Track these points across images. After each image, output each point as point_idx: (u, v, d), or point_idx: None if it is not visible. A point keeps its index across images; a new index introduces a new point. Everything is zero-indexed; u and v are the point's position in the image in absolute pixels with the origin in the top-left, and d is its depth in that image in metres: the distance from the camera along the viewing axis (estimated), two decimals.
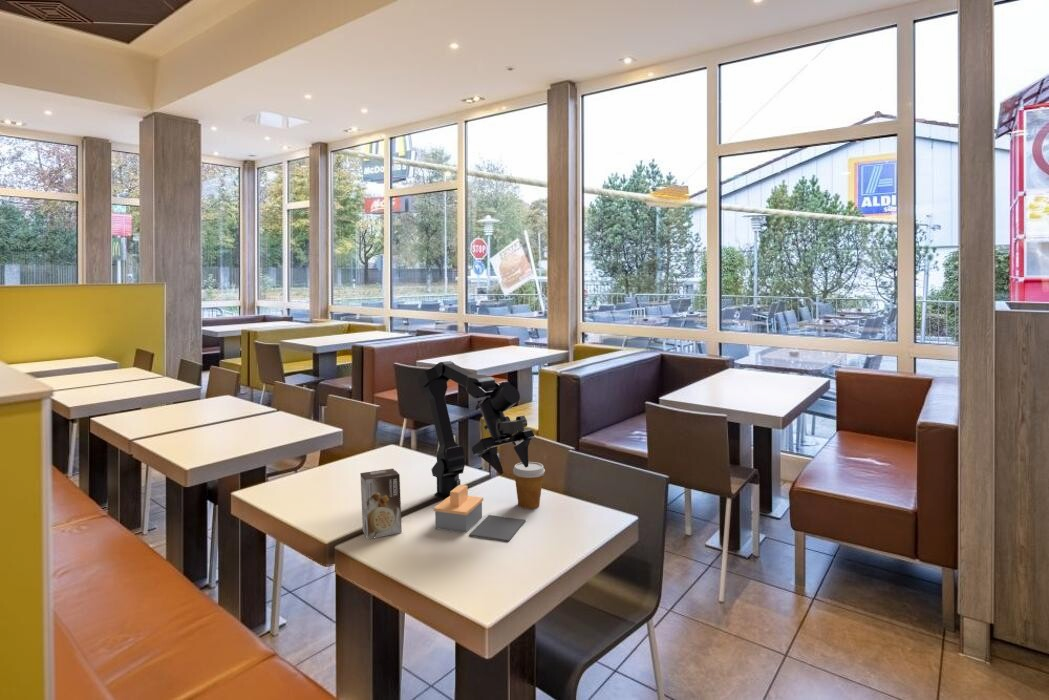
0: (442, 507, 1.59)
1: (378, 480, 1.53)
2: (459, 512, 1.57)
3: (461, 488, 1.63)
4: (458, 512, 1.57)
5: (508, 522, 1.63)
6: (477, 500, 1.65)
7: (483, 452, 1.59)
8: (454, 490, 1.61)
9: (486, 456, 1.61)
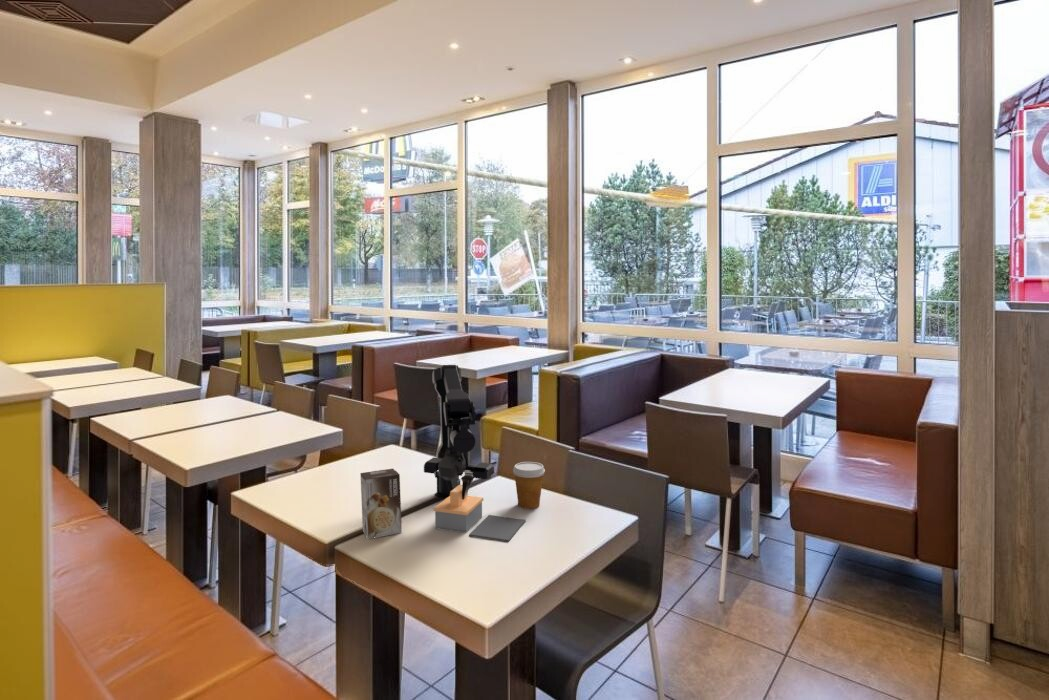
0: (442, 507, 1.59)
1: (378, 480, 1.53)
2: (459, 512, 1.57)
3: (461, 488, 1.63)
4: (458, 512, 1.57)
5: (508, 522, 1.63)
6: (477, 500, 1.65)
7: None
8: (454, 490, 1.61)
9: None
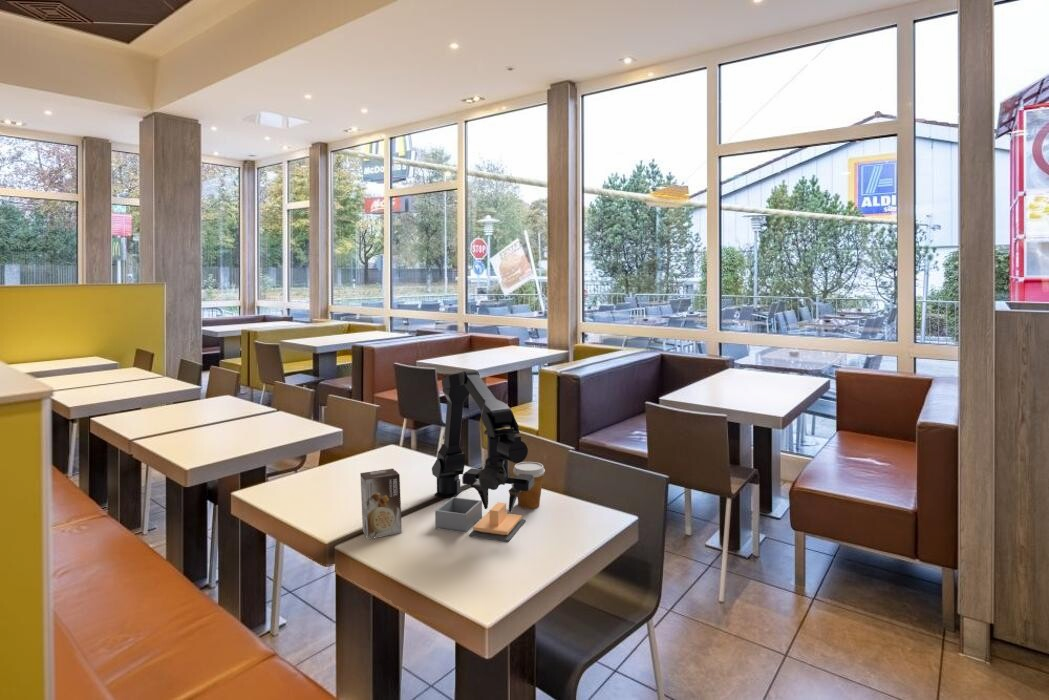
0: (481, 526, 1.56)
1: (378, 480, 1.53)
2: (500, 531, 1.53)
3: (500, 506, 1.59)
4: (499, 531, 1.54)
5: None
6: (516, 518, 1.61)
7: None
8: (493, 508, 1.58)
9: None
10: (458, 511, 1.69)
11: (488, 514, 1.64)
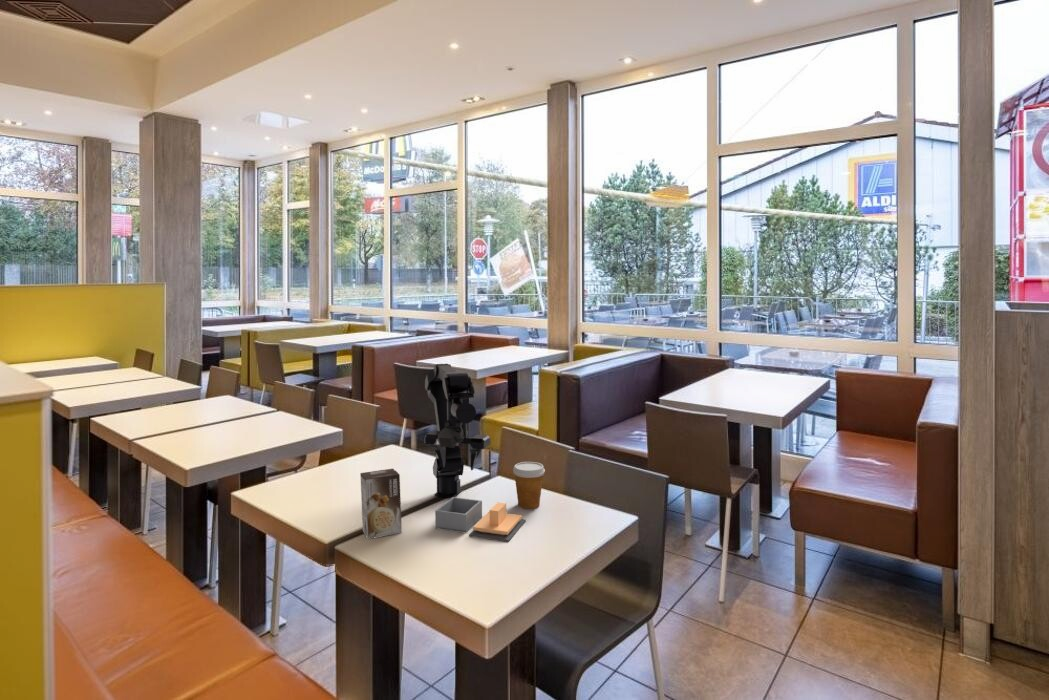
0: (481, 526, 1.56)
1: (378, 480, 1.53)
2: (500, 531, 1.53)
3: (500, 506, 1.59)
4: (499, 531, 1.54)
5: None
6: (516, 518, 1.61)
7: None
8: (493, 508, 1.58)
9: None
10: (458, 511, 1.69)
11: (488, 514, 1.64)
